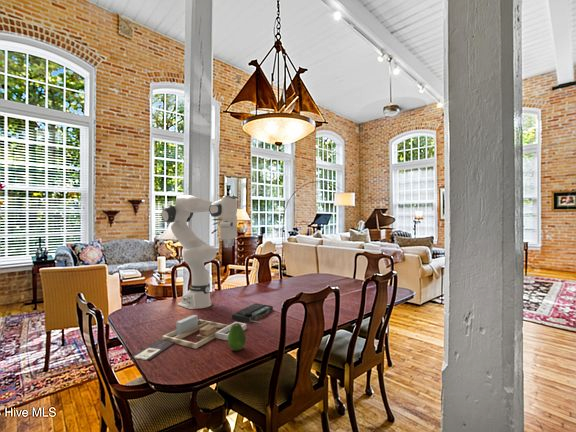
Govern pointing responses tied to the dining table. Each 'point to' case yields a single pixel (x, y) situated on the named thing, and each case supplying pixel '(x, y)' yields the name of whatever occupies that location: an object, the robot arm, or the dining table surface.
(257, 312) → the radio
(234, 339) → the avocado
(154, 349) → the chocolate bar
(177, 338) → the frame
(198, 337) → the offcut low
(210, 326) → the offcut top
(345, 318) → the dining table surface
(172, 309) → the dining table surface
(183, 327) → the pale grey rectangular block
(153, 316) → the dining table surface
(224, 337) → the cradle
